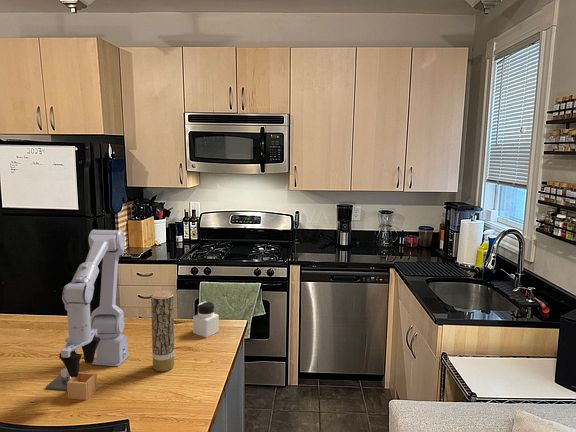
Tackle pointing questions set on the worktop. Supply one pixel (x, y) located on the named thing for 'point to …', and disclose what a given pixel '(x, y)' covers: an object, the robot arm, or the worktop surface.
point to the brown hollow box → (82, 386)
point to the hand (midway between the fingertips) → (81, 369)
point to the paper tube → (162, 330)
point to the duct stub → (60, 381)
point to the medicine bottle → (205, 320)
